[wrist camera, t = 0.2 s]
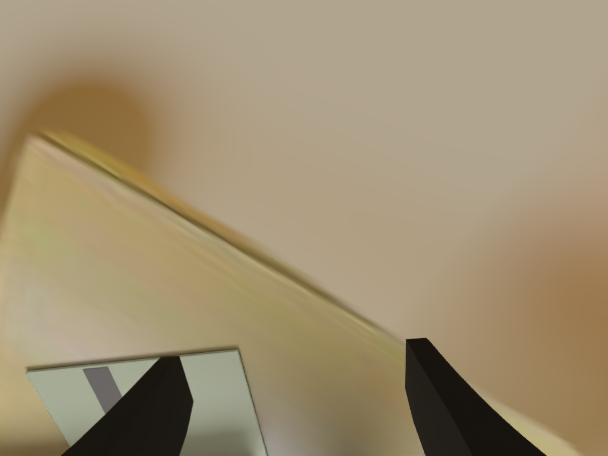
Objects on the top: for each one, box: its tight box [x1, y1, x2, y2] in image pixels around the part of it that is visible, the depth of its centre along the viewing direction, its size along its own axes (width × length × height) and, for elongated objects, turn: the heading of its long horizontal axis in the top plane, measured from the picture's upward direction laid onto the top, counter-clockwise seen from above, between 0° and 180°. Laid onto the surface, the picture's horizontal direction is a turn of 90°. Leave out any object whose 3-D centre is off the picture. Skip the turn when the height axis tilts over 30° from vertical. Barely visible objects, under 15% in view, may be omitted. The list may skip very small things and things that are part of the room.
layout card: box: [25, 349, 267, 456], centre depth 27 cm, size 16×15×1 cm
